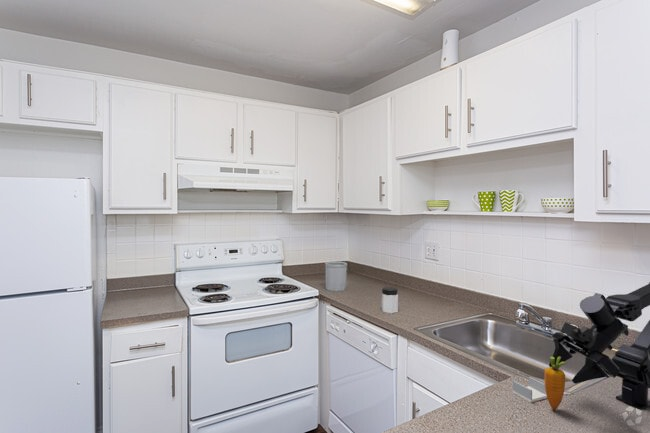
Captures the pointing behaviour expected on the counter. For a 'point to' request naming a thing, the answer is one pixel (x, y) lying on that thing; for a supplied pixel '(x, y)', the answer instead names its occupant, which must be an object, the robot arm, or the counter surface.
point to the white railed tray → (530, 390)
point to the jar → (389, 300)
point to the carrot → (554, 383)
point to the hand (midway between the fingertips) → (561, 374)
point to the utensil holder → (336, 276)
